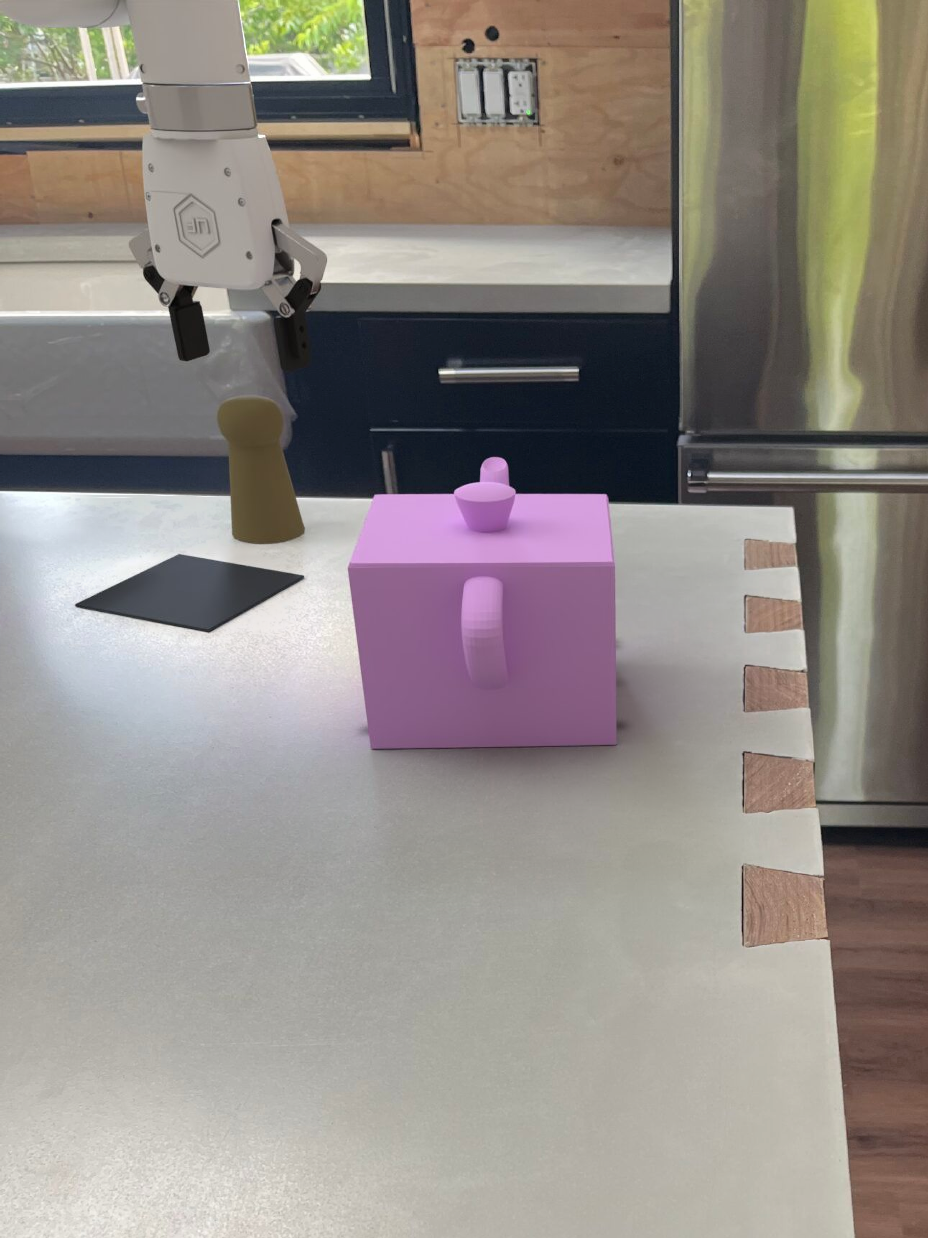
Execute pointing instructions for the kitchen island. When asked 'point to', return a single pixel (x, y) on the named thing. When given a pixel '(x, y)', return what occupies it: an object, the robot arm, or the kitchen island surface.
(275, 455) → the cork
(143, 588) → the mat
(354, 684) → the kitchen island surface
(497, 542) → the teapot
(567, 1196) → the kitchen island surface
